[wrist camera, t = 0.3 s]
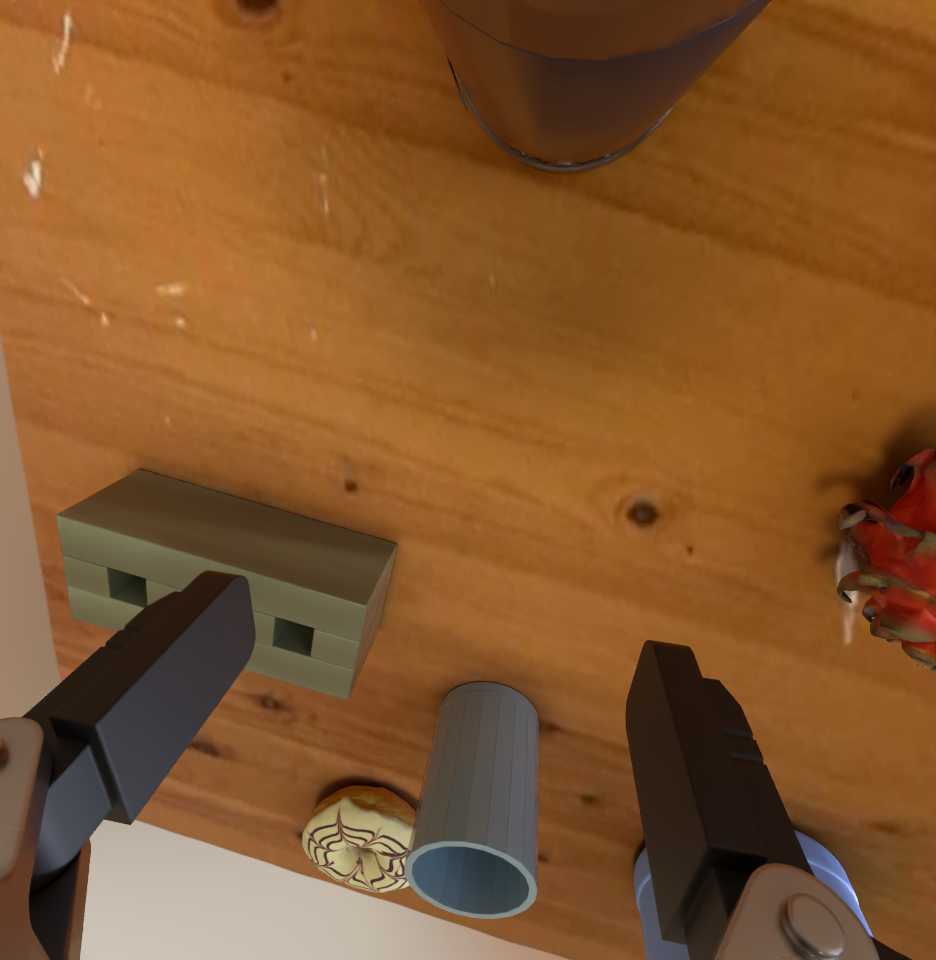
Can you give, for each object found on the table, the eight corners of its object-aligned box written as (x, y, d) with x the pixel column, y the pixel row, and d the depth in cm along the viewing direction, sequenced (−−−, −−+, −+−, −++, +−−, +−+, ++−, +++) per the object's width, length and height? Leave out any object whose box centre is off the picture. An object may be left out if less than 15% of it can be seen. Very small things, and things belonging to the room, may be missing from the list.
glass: (442, 673, 35) (405, 830, 26) (545, 690, 34) (545, 857, 25) (438, 742, 38) (403, 903, 29) (532, 758, 38) (527, 929, 28)
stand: (139, 468, 31) (54, 514, 26) (397, 543, 31) (366, 606, 25) (145, 560, 34) (71, 619, 29) (378, 629, 34) (348, 701, 29)
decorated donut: (450, 809, 42) (442, 859, 38) (405, 866, 47) (394, 915, 43) (337, 761, 41) (319, 807, 38) (302, 824, 46) (283, 870, 42)
